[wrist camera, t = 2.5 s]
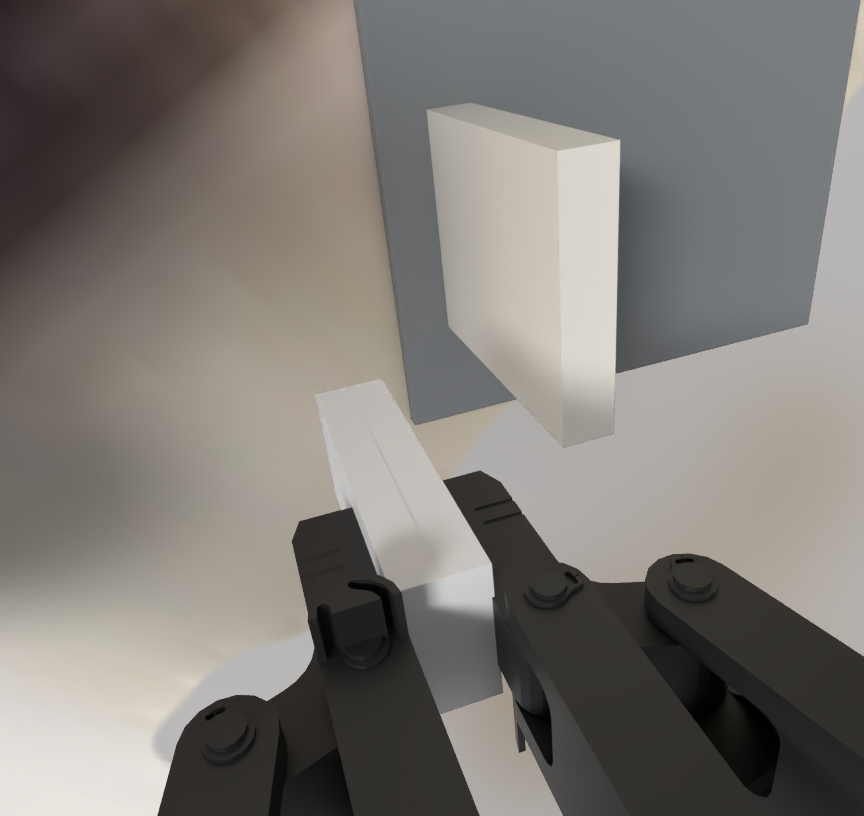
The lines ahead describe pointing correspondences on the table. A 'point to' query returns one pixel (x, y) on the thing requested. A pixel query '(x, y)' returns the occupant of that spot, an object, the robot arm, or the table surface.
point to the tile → (532, 258)
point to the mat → (622, 157)
